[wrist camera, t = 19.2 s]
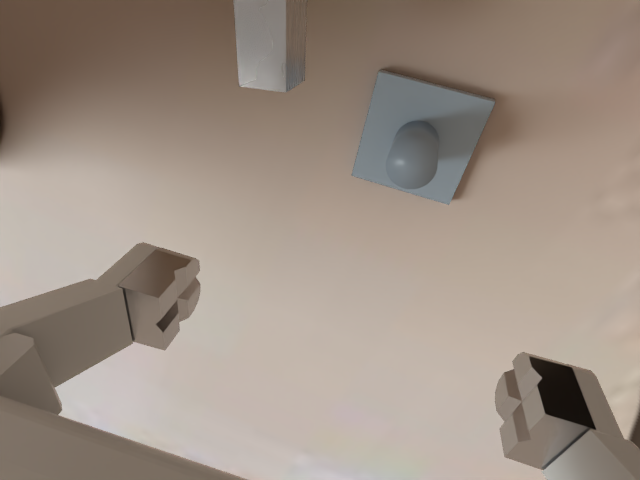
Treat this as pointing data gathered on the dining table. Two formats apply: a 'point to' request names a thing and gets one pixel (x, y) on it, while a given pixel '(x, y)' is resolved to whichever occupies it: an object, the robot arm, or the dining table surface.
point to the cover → (419, 135)
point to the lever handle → (270, 43)
